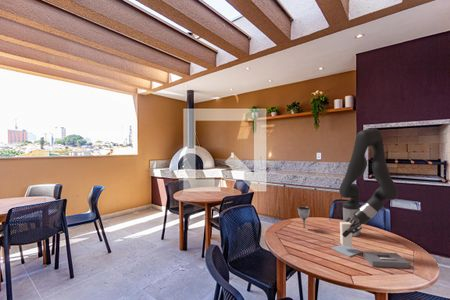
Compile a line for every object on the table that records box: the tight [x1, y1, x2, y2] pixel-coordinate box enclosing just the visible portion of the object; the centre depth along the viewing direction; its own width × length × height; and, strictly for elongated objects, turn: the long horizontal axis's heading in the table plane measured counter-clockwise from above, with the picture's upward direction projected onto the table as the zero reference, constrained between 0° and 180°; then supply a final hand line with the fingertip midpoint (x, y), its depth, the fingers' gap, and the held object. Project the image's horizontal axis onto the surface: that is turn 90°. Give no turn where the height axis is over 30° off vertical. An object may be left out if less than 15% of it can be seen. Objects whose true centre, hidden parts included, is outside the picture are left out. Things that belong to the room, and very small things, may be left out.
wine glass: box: [297, 206, 311, 228], centre depth 157 cm, size 8×8×15 cm
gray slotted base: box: [362, 251, 411, 269], centre depth 109 cm, size 16×10×3 cm, turn 81°
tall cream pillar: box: [339, 221, 353, 247], centre depth 122 cm, size 5×4×12 cm
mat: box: [330, 244, 364, 258], centre depth 122 cm, size 11×11×1 cm
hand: (342, 234), depth 122 cm, fingers closed on tall cream pillar, 3 cm apart
